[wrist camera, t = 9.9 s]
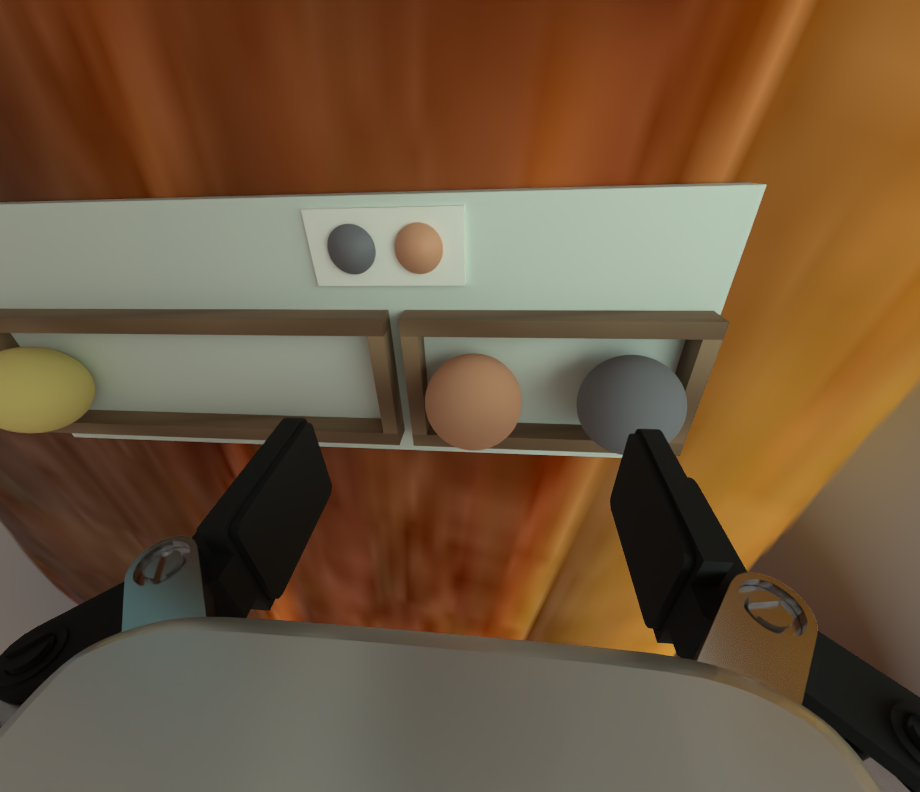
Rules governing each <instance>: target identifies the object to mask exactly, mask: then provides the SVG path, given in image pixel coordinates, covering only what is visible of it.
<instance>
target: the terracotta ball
mask: <svg viewBox="0 0 920 792" xmlns="http://www.w3.org/2000/svg"><path fill="white" fill-rule="evenodd" d="M425 409H426V414H427V417H428V420H429V422H430V424H431V426H432V428H433V429H434V431H435V432H436V433H437V434H438V436H439V437H440V438H442V439H443V440H444V441H445V442H447V443H448V444H450V445H452V446H454V447H457V448H460V449H464V450H483V449H487V448H490V447H493V446H495V445H497V444H499V443H500V442H502V441H503V440H504V439H506V438H507V437H508V435H509V434H510V433H511V432H512V431H513V429H514V428H515V426H516V424H517V422H518V420H519V417H520V414H521V409H522V396H521V390H520V387H519V384H518V382H517V380H516V378H515V376H514V375H513V373H512V372H511V371H510V370H509V369H508V368H507V367H506V366H505V365H504V364H503V363H502V362H500V361H498V360H497V359H495V358H493V357H490V356H487V355H483V354H464V355H460V356H457V357H454V358H452V359H450V360H449V361H447V362H445V363H444V364H443V365H442V366H440V367H439V368H438V370H437V371H436V372H435V373H434V375H433V376H432V378H431V380H430V382H429V384H428V387H427V390H426V395H425Z"/></svg>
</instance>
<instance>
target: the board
mask: <svg viewBox="0 0 920 792" xmlns="http://www.w3.org/2000/svg"><path fill="white" fill-rule="evenodd" d="M766 185H767V184H757V183H747V182H745V183H707V184H669V185H632V186H594V187H556V188H519V189H481V190H443V191H406V192H368V193H330V194H293V195H255V196H217V197H179V198H142V199H104V200H66V201H29V202H0V309H304V310H389V317H390V324H391V331H392V339H393V346H394V354H395V361H396V368H397V376H398V383H399V391H400V398H401V405H402V413H403V420H404V428H405V431H404V434H403V437H402V440H401V443H400V445H379V444H352V443H325V442H318V443H319V446H325V447H351V448H377V449H404V450H430V451H456V452H483V453H509V454H535V455H562V456H588V457H614V458H622V456H623V455H620V454H616V453H595V452H568V451H541V450H514V449H483V450H464V449H460V448H457V447H433V446H414V444H413V436H412V428H411V420H410V411H409V403H408V395H407V387H406V379H405V371H404V363H403V354H402V346H401V338H400V330H399V322H398V320H399V318H400V317H401V315H402V314H403V312H404V310H634V311H715V312H716V313H718V314H719V315H721V312H722V309H723V306H724V303H725V301H726V298H727V295H728V292H729V289H730V286H731V284H732V281H733V278H734V275H735V272H736V270H737V267H738V264H739V261H740V258H741V256H742V253H743V250H744V247H745V244H746V241H747V239H748V236H749V233H750V230H751V227H752V225H753V222H754V219H755V216H756V213H757V211H758V208H759V205H760V202H761V199H762V197H763V194H764V191H765V188H766ZM11 335H12V336H13V337H14V339H15V340H16V342H17V343H18V344H19V346H20V347H42V348H48V349H52V350H56V351H59V352H62V353H64V354H67V355H69V356H71V357H73V358H74V359H76V360H77V361H79V362H80V363H81V364H82V365H83V366H84V367H85V368H86V369H87V370H88V371H89V373H90V374H91V376H92V378H93V381H94V384H95V397H94V401H93V403H92V405H91V407H90V408H89V409H88V410H118V411H151V412H184V413H217V414H250V415H283V416H316V417H349V418H381V416H380V410H379V404H378V399H377V393H376V387H375V381H374V376H373V370H372V364H371V358H370V353H369V347H368V341H367V336H277V335H175V334H72V333H11ZM685 340H686V339H584V338H482V337H424V348H425V359H426V371H427V382H428V384H429V382H430V380H431V378H432V376H433V375H434V373H435V372H436V371H437V370H438V368H439V367H440V366H442V365H443V364H444V363H445V362H447V361H449V360H450V359H452V358H454V357H457V356H460V355H464V354H483V355H487V356H490V357H493V358H495V359H497V360H498V361H500V362H502V363H503V364H504V365H505V366H506V367H507V368H508V369H509V370H510V371H511V372H512V373H513V375H514V376H515V378H516V380H517V382H518V384H519V387H520V390H521V396H522V409H521V414H520V417H519V420H518V422H517V423H546V424H579V425H581V423H580V421H579V418H578V414H577V406H576V405H577V395H578V391H579V389H580V386H581V384H582V382H583V380H584V379H585V377H586V376H587V375H588V374H589V372H590V371H591V370H592V369H594V368H595V367H596V366H597V365H599V364H600V363H602V362H604V361H606V360H608V359H611V358H613V357H617V356H622V355H641V356H646V357H649V358H652V359H655V360H657V361H659V362H661V363H662V364H664V365H665V366H667V367H668V368H669V369H670V370H671V371H673V372H674V373H675V372H676V369H677V366H678V362H679V359H680V356H681V353H682V350H683V347H684V343H685ZM72 435H73V436H74V437H88V438H114V439H140V440H167V441H193V442H219V443H246V444H263V443H264V442H265V441H266V440H243V439H216V438H189V437H162V436H135V435H108V434H81V433H72Z"/></svg>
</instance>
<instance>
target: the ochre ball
mask: <svg viewBox="0 0 920 792" xmlns="http://www.w3.org/2000/svg"><path fill="white" fill-rule="evenodd" d="M94 397H95V384H94V381H93V378H92V376H91V374H90V373H89V371H88V370H87V369H86V368H85V367H84V366H83V365H82V364H81V363H80V362H79V361H77V360H76V359H74V358H73V357H71V356H69V355H67V354H64V353H62V352H59V351H56V350H52V349H48V348H42V347H16V348H11V349H6V350H2V351H0V428H1V429H4V430H8V431H12V432H19V433H42V432H48V431H53V430H57V429H60V428H63V427H65V426H68V425H70V424H72V423H73V422H75V421H77V420H78V419H79V418H81V417H82V416H83V415H84V414H85V413H86V412H87V411H88V409H89V408H90V407H91V405H92V403H93V401H94Z"/></svg>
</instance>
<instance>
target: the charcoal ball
mask: <svg viewBox="0 0 920 792" xmlns="http://www.w3.org/2000/svg"><path fill="white" fill-rule="evenodd" d="M576 406H577V414H578V418H579V421H580V423H581V426H582V428H583V429H584V431H585V432H586V434H587V435H588V436H589V437H590V438H591V439H592V440H593V441H594V442H595V443H596V444H597V445H599V446H601V447H602V448H604V449H606V450H608V451H610V452H613V453H616V454H620V455H623V452H624V449H625V445H626V442H627V439H628V436H629V434H631V433H632V434H635V431H636V430H637V429H659V430H661V431H662V432H663V434H664V436H665V438H666V440H667V442H668V443H670V442H671V441H672V440H673V439H674V438H675V437H676V436H677V434H678V433H679V432H680V430H681V428H682V426H683V424H684V422H685V419H686V414H687V397H686V393H685V390H684V387H683V385H682V383H681V382H680V380H679V378H678V377H677V376H676V374H675V373H674V372H673V371H671V370H670V369H669V368H668V367H667V366H665V365H664V364H662V363H661V362H659V361H657V360H655V359H652V358H649V357H646V356H641V355H622V356H617V357H613V358H611V359H608V360H606V361H604V362H602V363H600V364H599V365H597V366H596V367H595V368H594V369H592V370H591V371H590V372H589V374H588V375H587V376H586V377H585V379H584V380H583V382H582V384H581V386H580V389H579V391H578V395H577V405H576Z"/></svg>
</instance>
